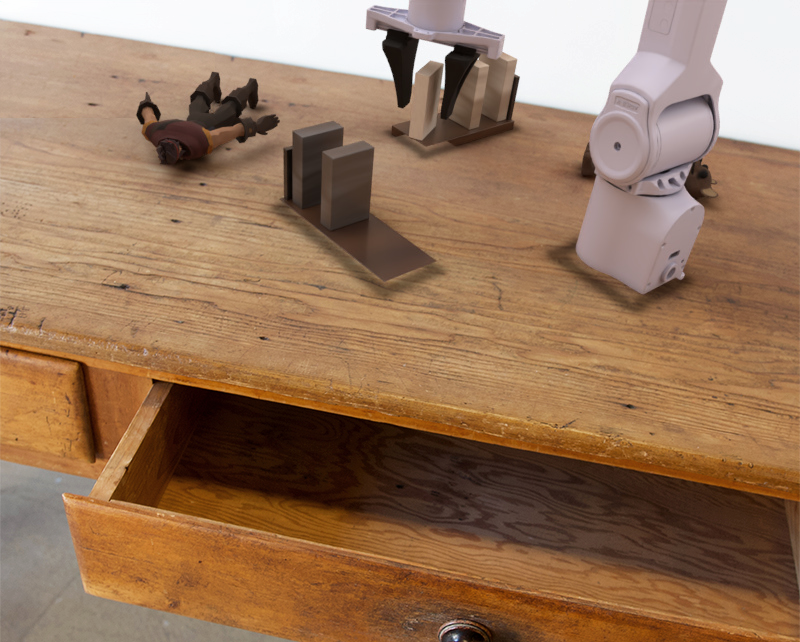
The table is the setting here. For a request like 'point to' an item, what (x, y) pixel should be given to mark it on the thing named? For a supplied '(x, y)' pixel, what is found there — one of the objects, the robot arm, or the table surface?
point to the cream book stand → (477, 104)
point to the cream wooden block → (425, 100)
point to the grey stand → (344, 199)
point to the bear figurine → (694, 184)
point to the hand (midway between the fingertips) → (424, 110)
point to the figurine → (204, 122)
